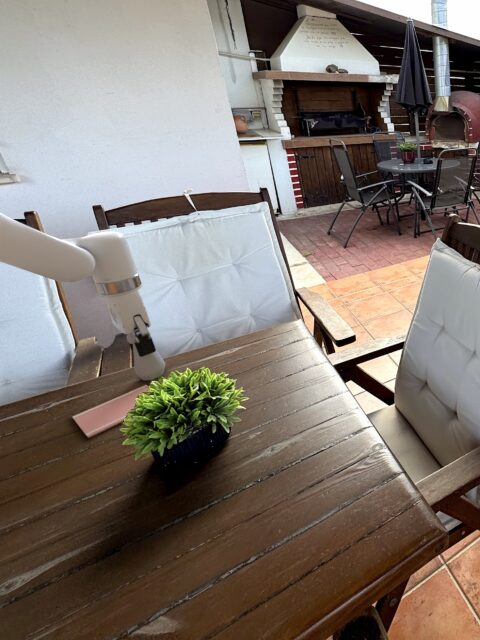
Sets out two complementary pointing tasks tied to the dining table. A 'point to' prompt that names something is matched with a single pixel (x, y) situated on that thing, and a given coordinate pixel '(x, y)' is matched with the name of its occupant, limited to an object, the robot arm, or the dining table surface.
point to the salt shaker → (147, 362)
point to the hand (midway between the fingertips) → (143, 350)
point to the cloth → (107, 413)
